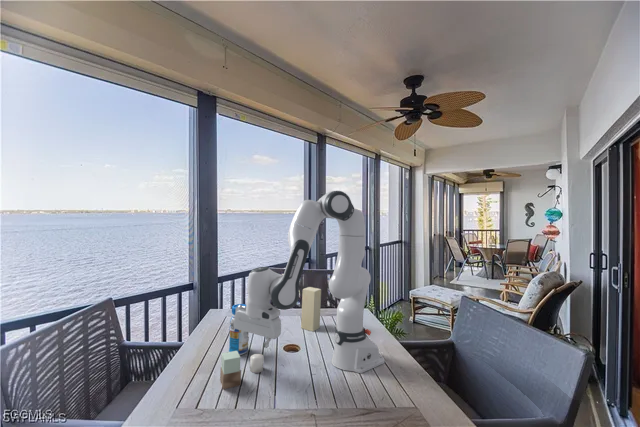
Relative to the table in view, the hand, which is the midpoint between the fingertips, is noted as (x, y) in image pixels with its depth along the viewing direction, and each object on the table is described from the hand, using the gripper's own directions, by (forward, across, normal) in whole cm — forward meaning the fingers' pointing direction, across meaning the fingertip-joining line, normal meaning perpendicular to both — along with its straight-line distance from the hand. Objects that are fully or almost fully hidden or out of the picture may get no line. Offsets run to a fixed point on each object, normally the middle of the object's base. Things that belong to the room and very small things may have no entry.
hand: (255, 344), depth 117 cm
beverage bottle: (+10, -15, +9) cm, 20 cm away
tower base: (+10, -2, -12) cm, 15 cm away
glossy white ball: (+10, +1, 0) cm, 10 cm away
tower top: (+5, -2, -12) cm, 13 cm away
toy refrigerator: (+10, +1, +49) cm, 50 cm away
